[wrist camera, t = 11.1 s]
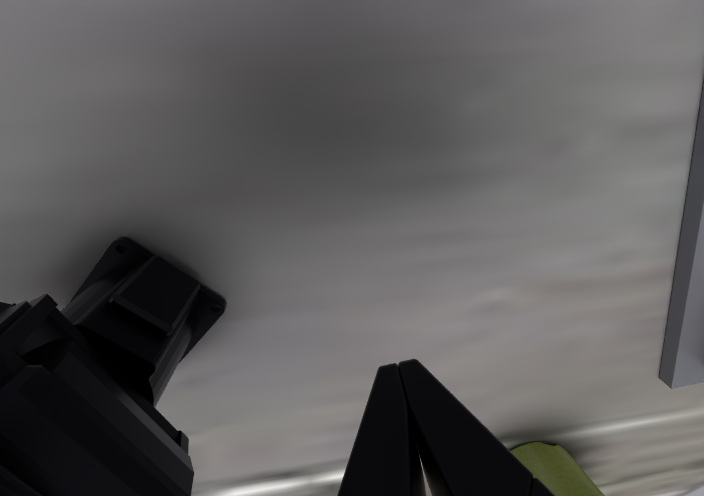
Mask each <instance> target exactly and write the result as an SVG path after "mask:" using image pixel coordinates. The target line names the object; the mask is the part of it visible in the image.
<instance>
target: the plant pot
mask: <svg viewBox="0 0 704 496" xmlns="http://www.w3.org/2000/svg"><path fill="white" fill-rule="evenodd" d="M510 452H511V453H512V454H513V455H514V456H515V457H516V458H517V459H518V460H520V461H521V462H522V463H523V464H524V465H525V466H526V467H527V468H528V469H529V470H530V471H531V472H532V473H533V476H534V478H535V477H536V478H538V479H539V480H540V481H541V482H542V483H543V484H544V485H545V486H546V487H547V488H548V489H549V490H550V491H551V492H552V493H553V494H554V495H555V496H604V495H603V493H602V492H601V491H600V490H599V489H598V488H597V486H596V485H595V484H594V483H593V482H592V480H591V479H590V478H589V477H588V476H587V474H586V473H585V472H584V471H583V470H582V468H581V467H580V466H579V465H578V464H577V463H576V461H575V460H574V459H573V458H572V457H571V456H570V455H569V453H568V452H567V451H566V450H565V449H564V448H562V447H561V446H559V445H556V446H551V445H547V444H544V443H541V442H534V443H529V444H525V445H522V446H520V447H517V448H515V449H513V450H511V451H510Z"/></svg>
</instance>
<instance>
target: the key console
mask: <svg viewBox="0 0 704 496" xmlns="http://www.w3.org/2000/svg"><path fill="white" fill-rule="evenodd" d="M659 378H660V379H661V380H662V381H663V382H664V383H665V384H666V385H668V386H669V387H670V388H671V389H673V388H678V387H682V386H687V385H692V384H696V383H701V382H704V85H703V91H702V98H701V104H700V111H699V118H698V124H697V131H696V137H695V144H694V150H693V157H692V164H691V170H690V177H689V183H688V190H687V197H686V203H685V210H684V216H683V223H682V229H681V236H680V243H679V249H678V256H677V262H676V269H675V276H674V282H673V289H672V295H671V302H670V308H669V315H668V322H667V328H666V335H665V341H664V348H663V355H662V361H661V368H660V374H659Z"/></svg>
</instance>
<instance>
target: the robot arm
mask: <svg viewBox="0 0 704 496" xmlns="http://www.w3.org/2000/svg"><path fill="white" fill-rule="evenodd" d="M120 245H124V246H125V247H126V251H125V250H122V249H121V248H120ZM57 305H58V304H57V303H56V302H55V301H54V300H53V299H52V298H51V297H50V296H49V295H48V294H45V295H43V296H41V297H39V298H37V299H35V300H33V301H31V302H29V303H28V302H27V301H24V302H22V303H20V304H17V305H16V304H15V303H14V304H12V305H11V304H7V303H2V302H0V496H191V490H192V483H193V476H194V471H193V467H192V463H191V459H190V456H189V455H188V442H189V439H188V437H187V436H186V435H185V434H184V433H183V432H182V431H177V430H176V429H175V428H174V427H173V426H172V425H171V424H170V423H169V422H168V421H167V420H166V419H165V418H164V417H163V416H162V415H161V414H160V413H159V412H158V411H157V410H156V409H155V406H156V405H157V403H158V401H159V399H160V397H161V395H162V393H163V391H164V390H165V388H166V386H167V384H168V382H169V380H170V378H171V376H172V375H173V373H174V371H175V369H176V367H177V365H178V364H179V363H180V362H181V360H182V359H183V358H184V357H185V356H186V355H187V354H188V353H189V351H190V350H191V349H192V348H193V347H194V346H195V345H196V344H197V342H198V341H199V340H200V339H201V338H202V337H203V336H204V334H205V333H206V332H207V331H208V330H209V329H210V328H211V327H212V325H213V324H214V323H215V322H216V321H217V320H218V319H219V318H220V316H221V315H222V314H223V313H224V311H225V309H226V302H225V301H224V300H223V299H222V298H220V297H219V296H217V295H216V294H214V293H213V292H211V291H210V290H208V289H206V288H205V287H203V286H202V285H200V284H199V282H198V281H196V280H195V279H193V278H191V277H190V276H188V275H187V274H185V273H184V272H182V271H181V270H179V269H178V268H176V267H175V266H173V265H171V264H170V263H168V262H167V261H165V260H164V259H162V258H161V257H159V256H155V255H154V254H152V253H151V252H149V251H148V250H146V249H145V248H143V247H141V246H140V245H138V244H137V243H135V242H134V241H132V240H131V239H129V238H126V237H120V238H118V239H116V240H115V241H114V242H113V243H111V245H110V246H109V248H108V249H107V251H106V252H105V253H104V255H103V256H102V258H101V259H100V260H99V262H98V263H97V265H96V266H95V267H94V269H93V270H92V272H91V273H90V274H89V276H88V277H87V279H86V280H85V282H84V283H83V284H82V286H81V287H80V289H79V290H78V291H77V293H76V294H75V296H74V297H73V298H72V300H71V301H70V303H69V304H68V305H67V306H66V307H65V308H63V309H62V310H61V311H59V310H58V309H57V308H56V306H57ZM213 305H218V306H219V307H220V308H218V309H217V308H214V307H213ZM398 367H399V368H398ZM399 371H400V372H399ZM418 451H419V452H418ZM419 455H420V456H419ZM420 459H421V461H420ZM421 463H422V466H421ZM422 467H423V470H424V473H425V476H426V479H427V482H428V485H429V488H430V490H431V493H432V496H555V495H554V494H553V493H552V492H551V491H550V490H549V489H548V488H547V487H546V486H545V485H544V484H543V483H542V482H541V481H540V480H539V479H538V478H536V477H535V478H534V476H533V473H532V472H531V471H530V470H529V469H528V468H527V467H526V466H525V465H524V464H523V463H522V462H521V461H520V460H518V459H517V458H516V457H515V456H514V455H513V454H512V453H511V452H510V451H509V450H508V449H507V448H506V447H505V446H504V445H503V444H502V443H501V442H500V441H499V440H498V439H497V438H496V437H495V436H494V435H493V434H492V433H491V432H490V431H489V430H488V429H487V428H486V427H485V426H484V425H483V424H482V423H481V422H480V421H479V420H478V419H477V418H476V417H475V416H474V415H473V414H472V413H471V412H470V411H469V410H468V409H467V408H466V407H465V406H464V405H463V404H462V403H461V402H460V401H459V400H458V399H457V398H456V397H455V396H454V395H453V394H452V393H451V392H450V391H448V390H447V389H446V388H445V387H444V386H443V385H442V384H441V383H440V382H439V381H438V380H437V379H436V378H435V377H434V376H433V375H432V374H431V373H430V372H429V371H428V370H427V369H426V368H425V367H424V366H423V365H422V364H421V363H420V362H419V361H418V360H416V359H411V360H406V361H402V362H399V364H398V365H397V364H396V363H393V364H388V365H384V366H380V367H379V368H378V371H377V374H376V377H375V380H374V383H373V386H372V390H371V393H370V396H369V399H368V402H367V405H366V408H365V411H364V414H363V418H362V421H361V424H360V427H359V430H358V433H357V436H356V439H355V442H354V446H353V449H352V452H351V455H350V458H349V461H348V464H347V467H346V470H345V474H344V477H343V480H342V483H341V486H340V489H339V492H338V495H337V496H426V491H425V483H424V477H423V470H422Z"/></svg>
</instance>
